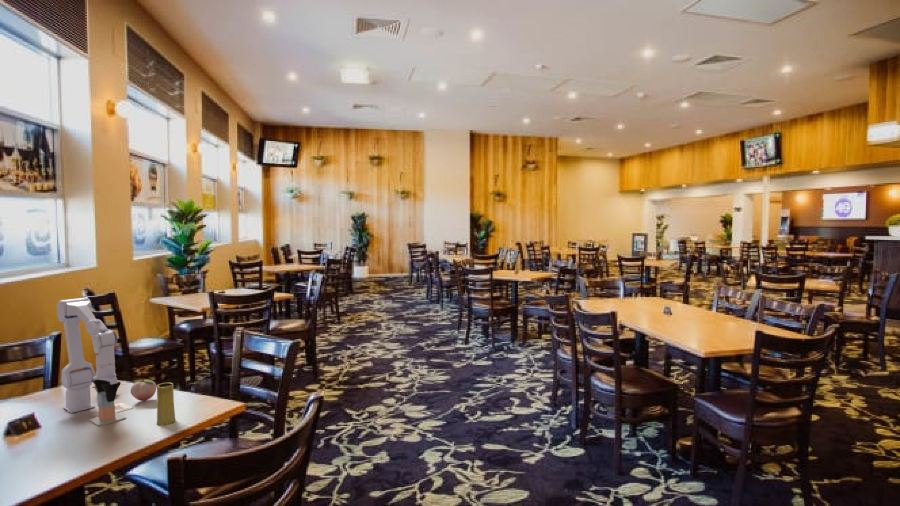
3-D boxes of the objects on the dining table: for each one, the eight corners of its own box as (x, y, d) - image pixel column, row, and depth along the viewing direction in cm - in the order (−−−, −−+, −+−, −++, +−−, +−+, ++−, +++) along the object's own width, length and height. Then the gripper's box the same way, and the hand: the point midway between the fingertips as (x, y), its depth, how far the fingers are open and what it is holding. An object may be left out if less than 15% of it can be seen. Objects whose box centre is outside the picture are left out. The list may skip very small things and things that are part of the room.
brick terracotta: (111, 415, 191) (110, 402, 190) (115, 418, 188) (114, 405, 188) (99, 418, 187) (98, 405, 187) (103, 421, 185) (102, 408, 185)
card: (102, 408, 200) (102, 407, 200) (122, 402, 205) (122, 402, 205) (112, 413, 194) (112, 413, 194) (132, 408, 199) (132, 407, 199)
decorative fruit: (161, 397, 212) (160, 374, 211) (150, 404, 203) (149, 380, 203) (139, 397, 212) (138, 374, 211) (127, 404, 203) (126, 380, 203)
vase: (179, 420, 188) (178, 383, 187) (165, 426, 182) (164, 388, 181) (167, 418, 190) (165, 381, 189) (152, 424, 184) (151, 386, 183)
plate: (89, 420, 187) (89, 419, 187) (116, 413, 194) (116, 412, 194) (98, 426, 182) (98, 425, 182) (126, 418, 189) (126, 417, 189)
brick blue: (97, 406, 187) (97, 393, 186) (109, 403, 190) (109, 390, 190) (101, 408, 184) (101, 395, 184) (114, 405, 188) (113, 392, 187)
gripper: (85, 362, 188) (87, 398, 188) (100, 369, 179) (102, 406, 180) (107, 358, 193) (108, 392, 194) (122, 365, 185) (124, 401, 186)
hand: (106, 399), depth 187 cm, fingers open, 7 cm apart
